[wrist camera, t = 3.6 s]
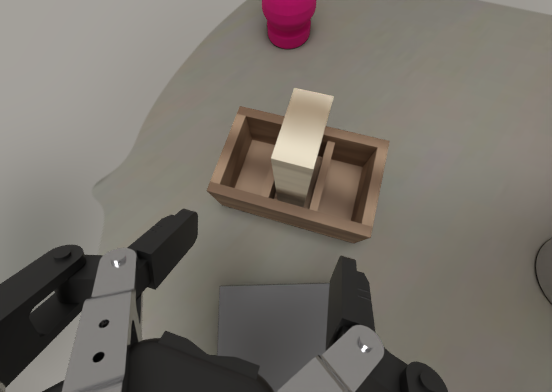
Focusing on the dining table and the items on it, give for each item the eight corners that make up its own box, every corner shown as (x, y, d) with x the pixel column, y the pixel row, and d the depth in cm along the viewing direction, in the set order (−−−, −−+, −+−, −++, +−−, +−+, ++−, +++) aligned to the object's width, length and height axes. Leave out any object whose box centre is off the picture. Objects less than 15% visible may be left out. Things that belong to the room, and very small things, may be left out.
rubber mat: (221, 285, 27) (219, 286, 26) (349, 282, 26) (350, 282, 25) (214, 500, 22) (212, 506, 21) (372, 501, 21) (375, 507, 20)
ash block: (302, 209, 28) (313, 169, 16) (277, 202, 28) (270, 158, 17) (315, 163, 29) (333, 96, 18) (291, 157, 30) (294, 87, 18)
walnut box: (353, 243, 27) (370, 237, 22) (222, 204, 29) (206, 190, 24) (370, 164, 30) (389, 141, 24) (248, 134, 32) (239, 106, 26)
